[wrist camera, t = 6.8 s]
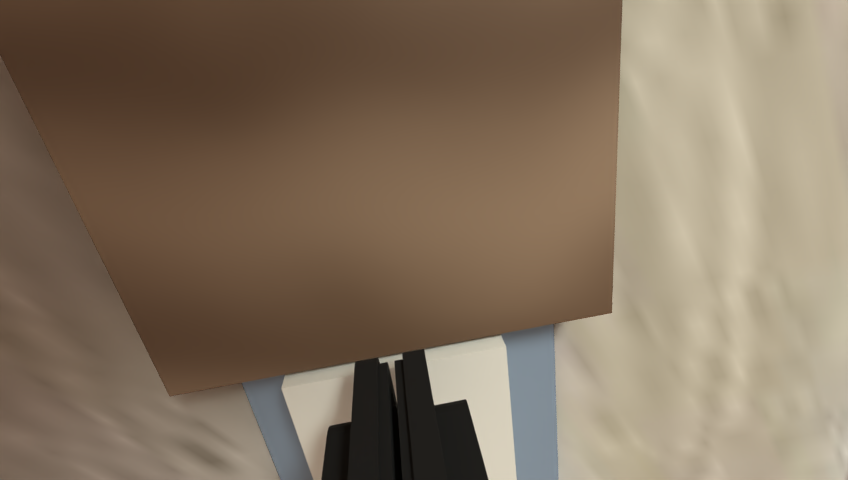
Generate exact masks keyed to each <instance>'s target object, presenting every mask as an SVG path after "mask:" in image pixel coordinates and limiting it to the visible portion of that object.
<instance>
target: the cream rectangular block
mask: <svg viewBox="0 0 848 480" xmlns="http://www.w3.org/2000/svg"><path fill="white" fill-rule="evenodd" d="M423 349H424V351H425V357H426V362H427V368H428V373H429V379H430V384H431V390H432V396H433V401H434V405H439V404H444V403H449V402H454V401H459V400H464V399H466V400H467V403H468V406H469V410H470V414H471V417H472V421H473V425H474V428H475V432H476V436H477V439H478V443H479V447H480V450H481V454H482V457H483V461H484V465H485V468H486V472H487V476H488V479H489V480H517V476H516V464H515V451H514V438H513V426H512V413H511V401H510V388H509V375H508V363H507V350H506V345H505V343H504V341H503V339H502V336H501V334H497V335H492V336H487V337H481V338H476V339H471V340H465V341H460V342H455V343H450V344H444V345H439V346H434V347H428V348H423ZM418 350H420V349H418ZM412 351H415V350H412ZM407 352H410V351H407ZM402 353H404V352H402ZM402 353H397V354H391V355H386V356H381V357H375V358H378V359H379V362H380V363H385V362H388V365H389V369H390V373H391V378H392V382H393V387H394V391H395V396H396V400H397V393H396V379H395V364H394V361H395V360H401V359H403V358H402ZM370 359H373V358H370ZM365 360H367V359H365ZM359 361H362V360H359ZM355 362H357V361H354V362H349V363H344V364H338V365H333V366H328V367H322V368H317V369H312V370H306V371H301V372H296V373H291V374H285V377H284V380H283V384H282V388H281V389H282V392H283V395H284V398H285V401H286V403H287V406H288V409H289V412H290V415H291V418H292V420H293V423H294V426H295V429H296V432H297V435H298V438H299V440H300V443H301V446H302V449H303V452H304V455H305V457H306V460H307V463H308V466H309V469H310V472H311V475H312V477H313V480H321V478H322V470H323V462H324V454H325V446H326V438H327V432H328V428H329V426H331V425H336V424H341V423H346V422H351V415H352V399H353V383H354V367H355Z"/></svg>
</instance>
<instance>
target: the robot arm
mask: <svg viewBox="0 0 848 480" xmlns="http://www.w3.org/2000/svg"><path fill="white" fill-rule="evenodd" d="M402 358H403V359H401V360H395V361H394V364H395V379H396V393H397V400H396V396H395V391H394V387H393V382H392V378H391V373H390V369H389V365H388V362H385V363H380V362H379V359H378V358H373V359H367V360H362V361H357V362H355V367H354V383H353V399H352V415H351V422H346V423H341V424H336V425H331V426H329V428H328V432H327V438H326V446H325V454H324V462H323V470H322V478H321V480H489V479H488V476H487V472H486V468H485V465H484V461H483V457H482V454H481V450H480V447H479V443H478V439H477V436H476V432H475V428H474V425H473V421H472V417H471V414H470V410H469V406H468V403H467V400H466V399H464V400H459V401H454V402H449V403H444V404H439V405H434V401H433V396H432V390H431V384H430V379H429V373H428V368H427V362H426V357H425V351H424V349H420V350H415V351H410V352H404V353H402Z"/></svg>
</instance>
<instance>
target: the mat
mask: <svg viewBox="0 0 848 480" xmlns="http://www.w3.org/2000/svg"><path fill="white" fill-rule="evenodd" d="M501 336H502V339H503V341H504V343H505V345H506V350H507V363H508V375H509V388H510V401H511V413H512V426H513V438H514V451H515V464H516V476H517V480H558V451H557V418H556V385H555V352H554V324H550V325H545V326H540V327H534V328H529V329H524V330H518V331H513V332H508V333H503V334H501ZM284 377H285V375H280V376H275V377H269V378H264V379H259V380H253V381H248V382H243V383H242V385H243V388H244V390H245V393H246V395H247V398H248V400H249V403H250V405H251V408H252V410H253V412H254V415H255V417H256V420H257V422H258V425H259V427H260V430H261V432H262V435H263V437H264V440H265V442H266V445H267V447H268V450H269V452H270V455H271V457H272V460H273V462H274V465H275V467H276V470H277V472H278V475H279V477H280V479H281V480H313V477H312V475H311V472H310V469H309V466H308V463H307V460H306V457H305V455H304V452H303V449H302V446H301V443H300V440H299V438H298V435H297V432H296V429H295V426H294V423H293V420H292V418H291V415H290V412H289V409H288V406H287V403H286V401H285V398H284V395H283V392H282V389H281V388H282V384H283V380H284Z"/></svg>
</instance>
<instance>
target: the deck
mask: <svg viewBox="0 0 848 480" xmlns="http://www.w3.org/2000/svg"><path fill="white" fill-rule="evenodd" d="M621 23H622V0H0V55H1V57H2V59H3V61H4V63H5V65H6V67H7V69H8V71H9V73H10V75H11V77H12V79H13V81H14V83H15V85H16V87H17V89H18V91H19V93H20V95H21V98H22V100H23V102H24V104H25V106H26V108H27V110H28V112H29V114H30V116H31V118H32V120H33V122H34V124H35V126H36V128H37V130H38V132H39V134H40V136H41V138H42V140H43V142H44V144H45V146H46V148H47V150H48V152H49V154H50V156H51V158H52V160H53V162H54V164H55V166H56V168H57V170H58V172H59V174H60V176H61V178H62V180H63V182H64V184H65V186H66V188H67V190H68V192H69V194H70V196H71V198H72V200H73V202H74V204H75V206H76V208H77V210H78V212H79V214H80V216H81V218H82V220H83V222H84V224H85V227H86V229H87V231H88V233H89V235H90V237H91V239H92V241H93V243H94V245H95V247H96V249H97V251H98V253H99V255H100V257H101V259H102V261H103V263H104V265H105V267H106V269H107V271H108V273H109V275H110V277H111V279H112V281H113V283H114V285H115V287H116V289H117V291H118V293H119V295H120V297H121V299H122V301H123V303H124V305H125V307H126V309H127V311H128V313H129V315H130V317H131V319H132V321H133V323H134V325H135V327H136V329H137V331H138V333H139V335H140V337H141V339H142V341H143V343H144V345H145V347H146V349H147V351H148V353H149V356H150V358H151V360H152V362H153V364H154V366H155V368H156V370H157V372H158V374H159V376H160V378H161V380H162V382H163V384H164V386H165V388H166V390H167V392H168V394H169V396H174V395H179V394H185V393H190V392H195V391H200V390H206V389H211V388H216V387H222V386H227V385H232V384H238V383H243V382H248V381H253V380H259V379H264V378H269V377H275V376H280V375H285V374H291V373H296V372H301V371H306V370H312V369H317V368H322V367H328V366H333V365H338V364H344V363H349V362H354V361H359V360H365V359H370V358H375V357H381V356H386V355H391V354H397V353H402V352H407V351H412V350H418V349H423V348H428V347H434V346H439V345H444V344H450V343H455V342H460V341H465V340H471V339H476V338H481V337H487V336H492V335H497V334H503V333H508V332H513V331H518V330H524V329H529V328H534V327H540V326H545V325H550V324H556V323H561V322H566V321H572V320H577V319H582V318H587V317H593V316H598V315H603V314H609V313H612V290H613V260H614V231H615V201H616V172H617V142H618V112H619V83H620V53H621Z"/></svg>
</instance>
